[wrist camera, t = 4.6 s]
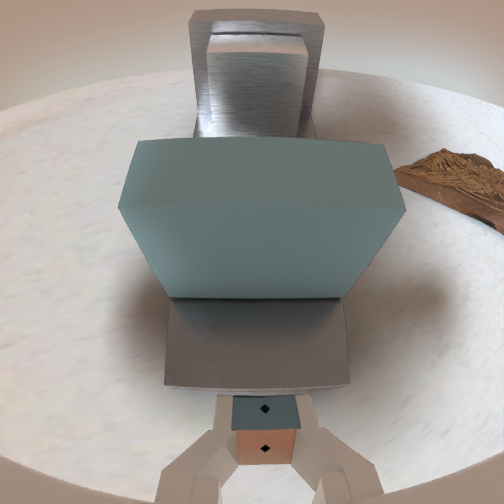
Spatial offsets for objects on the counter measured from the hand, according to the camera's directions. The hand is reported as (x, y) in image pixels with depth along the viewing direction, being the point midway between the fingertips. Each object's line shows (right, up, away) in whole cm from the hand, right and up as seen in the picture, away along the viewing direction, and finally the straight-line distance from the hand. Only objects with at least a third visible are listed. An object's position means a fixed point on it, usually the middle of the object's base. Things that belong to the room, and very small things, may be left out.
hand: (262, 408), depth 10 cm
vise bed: (0, +8, +12) cm, 15 cm away
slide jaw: (0, +4, +7) cm, 8 cm away
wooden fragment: (+23, +10, +14) cm, 29 cm away
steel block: (0, +15, +13) cm, 20 cm away
